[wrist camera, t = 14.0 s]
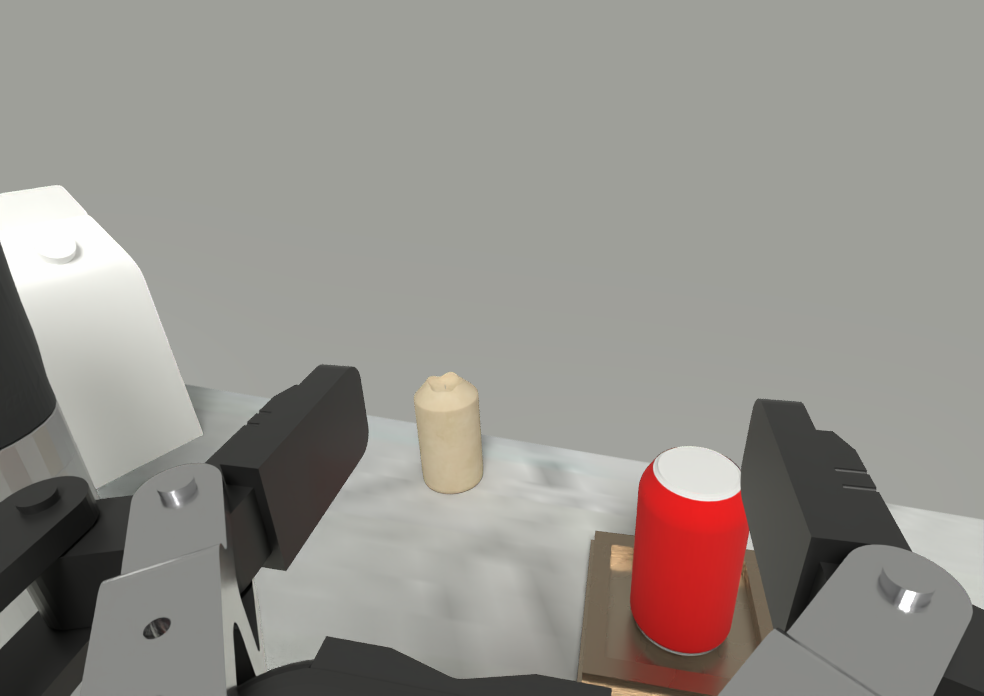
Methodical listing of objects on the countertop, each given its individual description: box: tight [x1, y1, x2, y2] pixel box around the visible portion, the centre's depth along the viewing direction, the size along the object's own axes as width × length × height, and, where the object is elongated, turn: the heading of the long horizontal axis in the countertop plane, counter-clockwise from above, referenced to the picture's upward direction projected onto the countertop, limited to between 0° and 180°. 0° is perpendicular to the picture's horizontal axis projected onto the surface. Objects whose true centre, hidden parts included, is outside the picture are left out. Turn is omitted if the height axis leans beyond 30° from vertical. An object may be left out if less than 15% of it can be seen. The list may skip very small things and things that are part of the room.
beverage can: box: [630, 446, 749, 656], centre depth 34 cm, size 6×6×12 cm
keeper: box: [577, 531, 774, 696], centre depth 37 cm, size 12×12×2 cm
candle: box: [414, 372, 483, 494], centre depth 51 cm, size 6×6×10 cm
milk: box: [0, 185, 203, 489], centre depth 55 cm, size 12×12×26 cm
